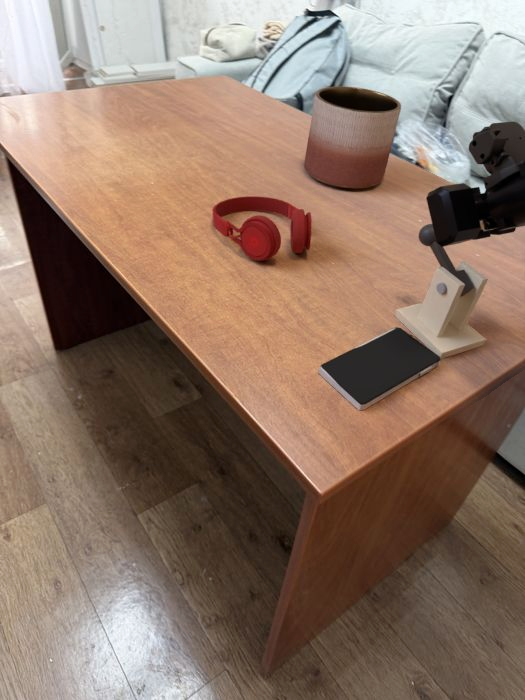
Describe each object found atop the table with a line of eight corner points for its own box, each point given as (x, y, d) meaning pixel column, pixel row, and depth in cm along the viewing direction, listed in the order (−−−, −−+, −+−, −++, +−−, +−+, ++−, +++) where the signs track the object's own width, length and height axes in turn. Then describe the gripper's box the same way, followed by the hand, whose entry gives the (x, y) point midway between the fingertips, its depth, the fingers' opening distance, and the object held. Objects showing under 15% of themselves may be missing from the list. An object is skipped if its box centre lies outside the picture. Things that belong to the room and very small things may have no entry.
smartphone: (317, 365, 61) (397, 325, 68) (316, 372, 62) (395, 331, 69) (363, 406, 56) (443, 359, 64) (360, 413, 57) (440, 365, 64)
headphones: (327, 255, 82) (270, 216, 96) (331, 213, 77) (271, 180, 92) (248, 272, 76) (200, 228, 90) (248, 228, 72) (198, 189, 86)
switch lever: (410, 234, 68) (422, 221, 66) (427, 231, 69) (439, 218, 67) (447, 301, 65) (461, 289, 62) (463, 296, 66) (478, 285, 63)
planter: (368, 200, 100) (388, 119, 90) (290, 177, 105) (300, 98, 95) (391, 172, 112) (412, 98, 102) (321, 153, 117) (333, 80, 107)
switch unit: (394, 315, 72) (414, 258, 65) (435, 304, 75) (458, 248, 68) (439, 359, 65) (466, 301, 59) (482, 345, 68) (513, 288, 62)
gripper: (599, 101, 53) (485, 161, 67) (472, 109, 46) (375, 175, 60) (621, 201, 53) (503, 240, 68) (499, 225, 46) (396, 262, 61)
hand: (447, 228), depth 64 cm, fingers closed
